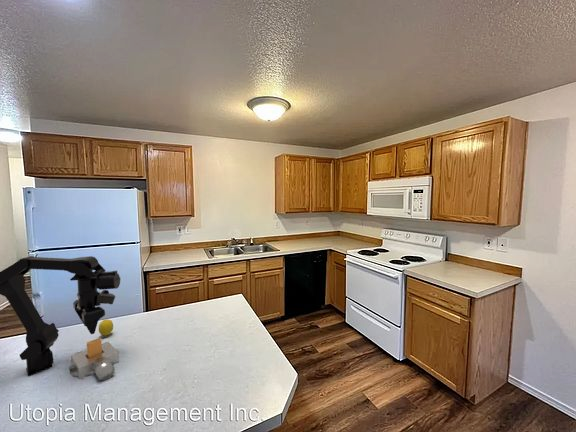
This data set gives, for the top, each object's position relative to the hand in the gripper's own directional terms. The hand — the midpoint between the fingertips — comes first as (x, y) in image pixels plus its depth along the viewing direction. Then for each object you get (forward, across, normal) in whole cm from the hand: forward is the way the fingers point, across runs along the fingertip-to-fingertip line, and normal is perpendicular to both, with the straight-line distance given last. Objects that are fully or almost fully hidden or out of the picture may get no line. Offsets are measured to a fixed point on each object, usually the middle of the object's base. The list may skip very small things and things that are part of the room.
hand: (89, 329), depth 97 cm
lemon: (+13, +18, -9) cm, 24 cm away
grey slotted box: (+13, -6, -1) cm, 14 cm away
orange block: (+12, -3, -1) cm, 12 cm away
